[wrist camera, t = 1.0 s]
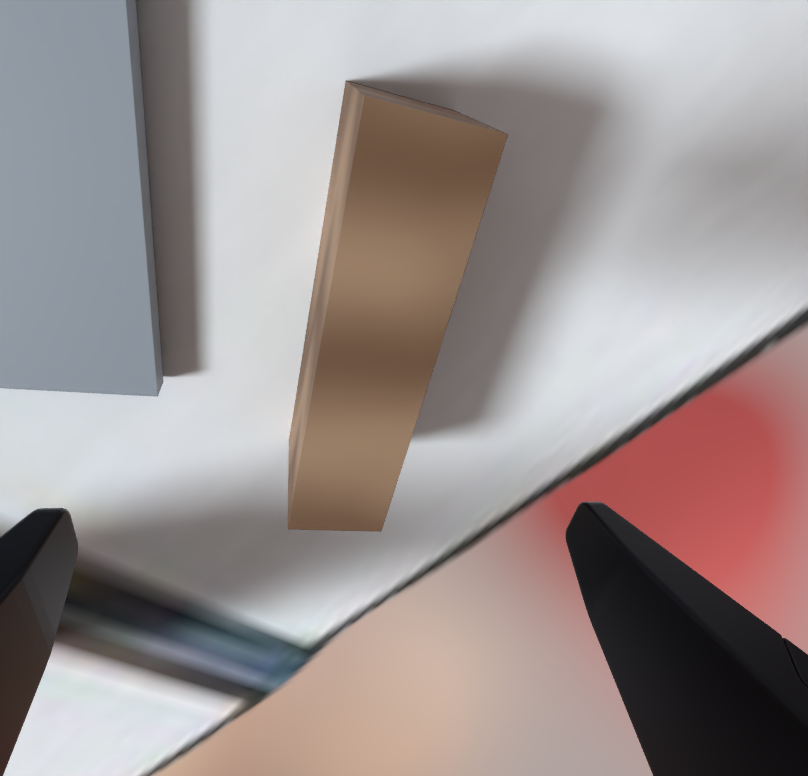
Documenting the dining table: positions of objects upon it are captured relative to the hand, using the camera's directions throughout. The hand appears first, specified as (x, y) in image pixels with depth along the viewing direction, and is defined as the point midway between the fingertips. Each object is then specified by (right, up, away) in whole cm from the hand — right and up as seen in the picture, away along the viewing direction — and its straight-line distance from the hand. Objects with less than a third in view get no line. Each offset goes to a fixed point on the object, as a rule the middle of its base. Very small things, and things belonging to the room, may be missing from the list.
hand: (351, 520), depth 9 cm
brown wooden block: (-1, +6, +10) cm, 12 cm away
